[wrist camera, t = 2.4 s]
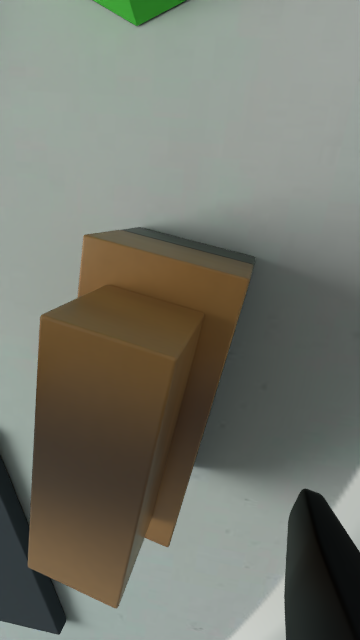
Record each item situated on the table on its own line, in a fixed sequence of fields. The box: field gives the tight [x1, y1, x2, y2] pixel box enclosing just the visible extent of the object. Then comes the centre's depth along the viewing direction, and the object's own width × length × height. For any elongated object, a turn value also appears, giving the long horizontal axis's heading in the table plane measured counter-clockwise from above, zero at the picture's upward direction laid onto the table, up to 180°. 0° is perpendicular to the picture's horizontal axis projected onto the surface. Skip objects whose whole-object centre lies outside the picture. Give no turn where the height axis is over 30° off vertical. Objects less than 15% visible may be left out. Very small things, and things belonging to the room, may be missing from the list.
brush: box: [28, 227, 255, 608], centre depth 9 cm, size 9×4×6 cm, turn 168°
